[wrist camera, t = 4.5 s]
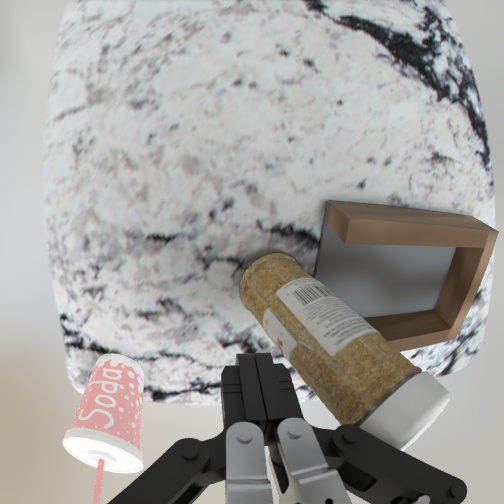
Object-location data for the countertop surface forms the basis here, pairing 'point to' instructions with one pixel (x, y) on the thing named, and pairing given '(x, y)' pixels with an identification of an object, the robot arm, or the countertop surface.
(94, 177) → the countertop surface
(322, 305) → the sprinkles bottle
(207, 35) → the countertop surface
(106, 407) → the beverage cup
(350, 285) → the u rest
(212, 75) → the countertop surface
